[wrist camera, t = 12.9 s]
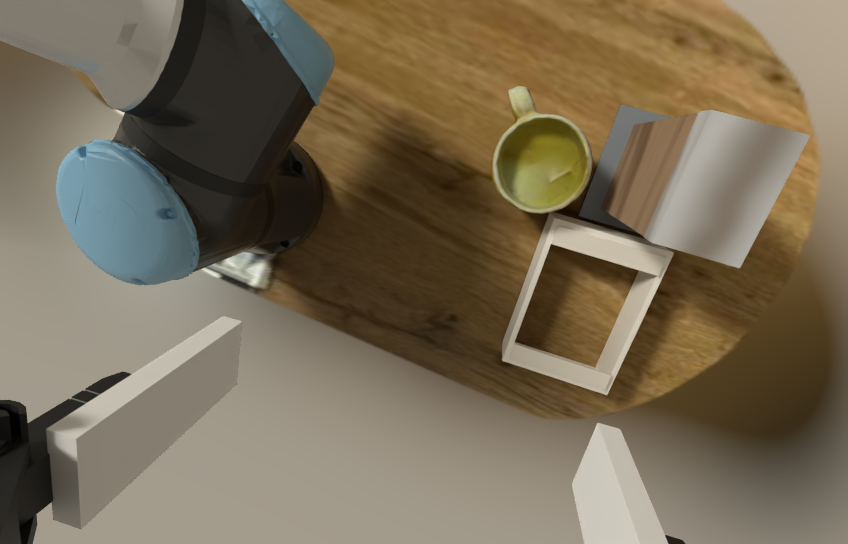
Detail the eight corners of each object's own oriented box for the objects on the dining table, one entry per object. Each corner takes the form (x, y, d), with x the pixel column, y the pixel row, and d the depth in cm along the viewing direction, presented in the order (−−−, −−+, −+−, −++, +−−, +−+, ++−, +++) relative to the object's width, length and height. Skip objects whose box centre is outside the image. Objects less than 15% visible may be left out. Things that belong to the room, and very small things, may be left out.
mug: (606, 209, 46) (590, 207, 37) (513, 220, 51) (480, 220, 43) (598, 92, 45) (580, 62, 37) (505, 115, 50) (470, 93, 42)
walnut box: (600, 208, 48) (651, 242, 30) (633, 123, 45) (711, 109, 28) (655, 224, 47) (739, 268, 30) (693, 139, 44) (810, 135, 27)
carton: (502, 342, 54) (501, 362, 49) (549, 211, 49) (554, 218, 44) (598, 373, 53) (608, 397, 48) (658, 242, 48) (676, 254, 43)
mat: (578, 215, 48) (578, 216, 48) (620, 104, 45) (621, 104, 44) (667, 241, 48) (668, 242, 47) (718, 130, 44) (720, 130, 43)
